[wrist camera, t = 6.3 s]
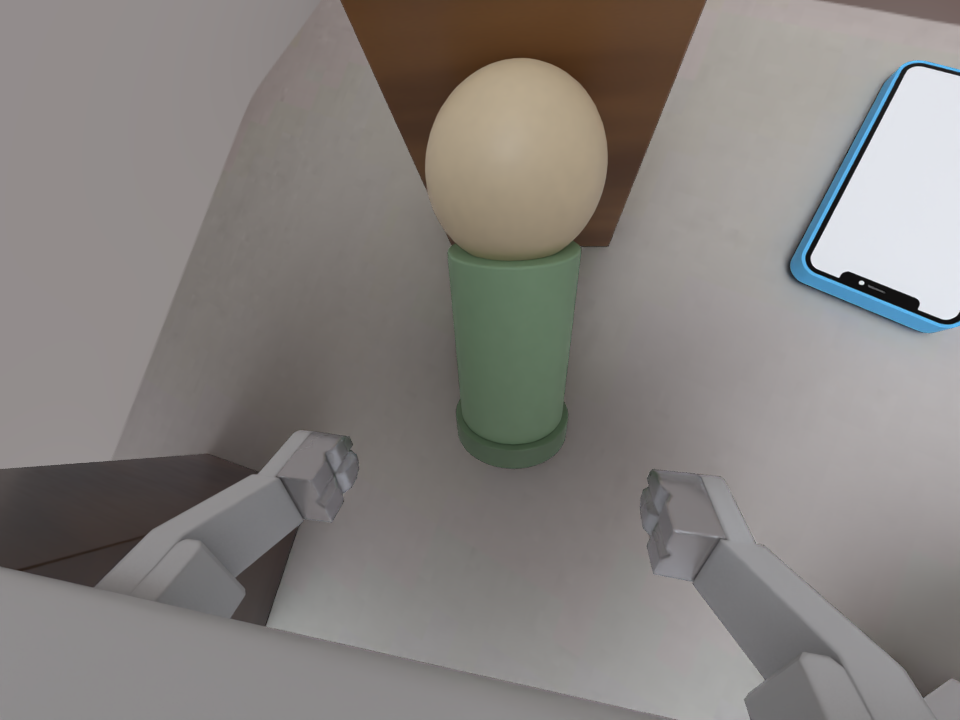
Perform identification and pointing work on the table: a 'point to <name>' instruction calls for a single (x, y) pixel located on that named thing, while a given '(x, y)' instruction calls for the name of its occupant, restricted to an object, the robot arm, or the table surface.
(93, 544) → the pedestal
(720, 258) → the table surface
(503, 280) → the toy
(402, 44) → the wooden block
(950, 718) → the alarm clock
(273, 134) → the table surface
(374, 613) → the table surface
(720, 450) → the table surface
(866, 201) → the smartphone
